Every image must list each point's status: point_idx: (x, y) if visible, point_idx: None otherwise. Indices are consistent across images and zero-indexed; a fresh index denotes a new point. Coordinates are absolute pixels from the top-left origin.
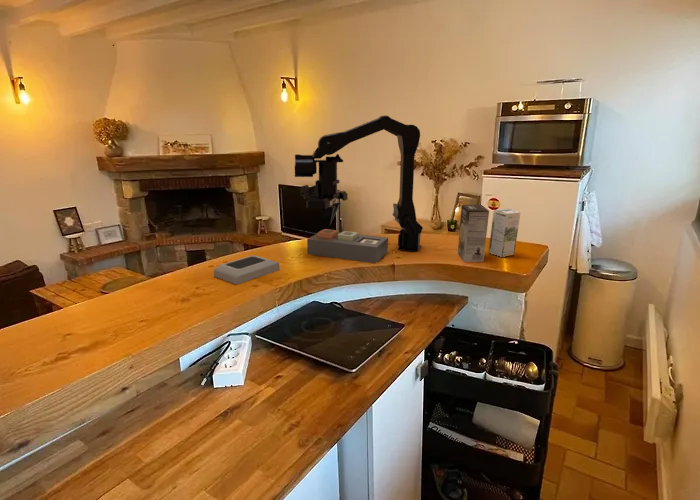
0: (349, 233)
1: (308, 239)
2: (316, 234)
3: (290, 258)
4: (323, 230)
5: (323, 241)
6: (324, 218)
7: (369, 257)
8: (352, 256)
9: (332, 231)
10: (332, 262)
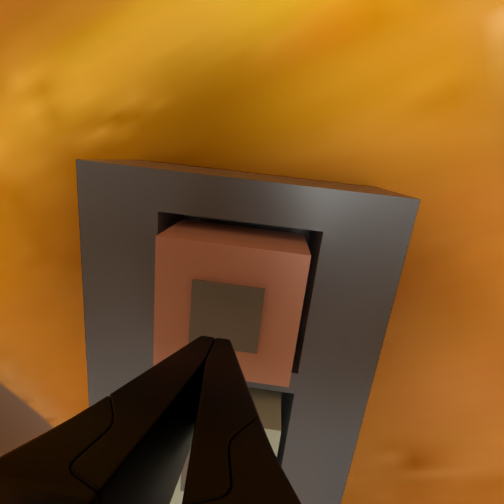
0: None
1: (77, 173)
2: (248, 186)
3: (20, 86)
4: (248, 266)
5: (85, 302)
6: (139, 383)
7: None
8: None
9: (239, 351)
10: (68, 331)
